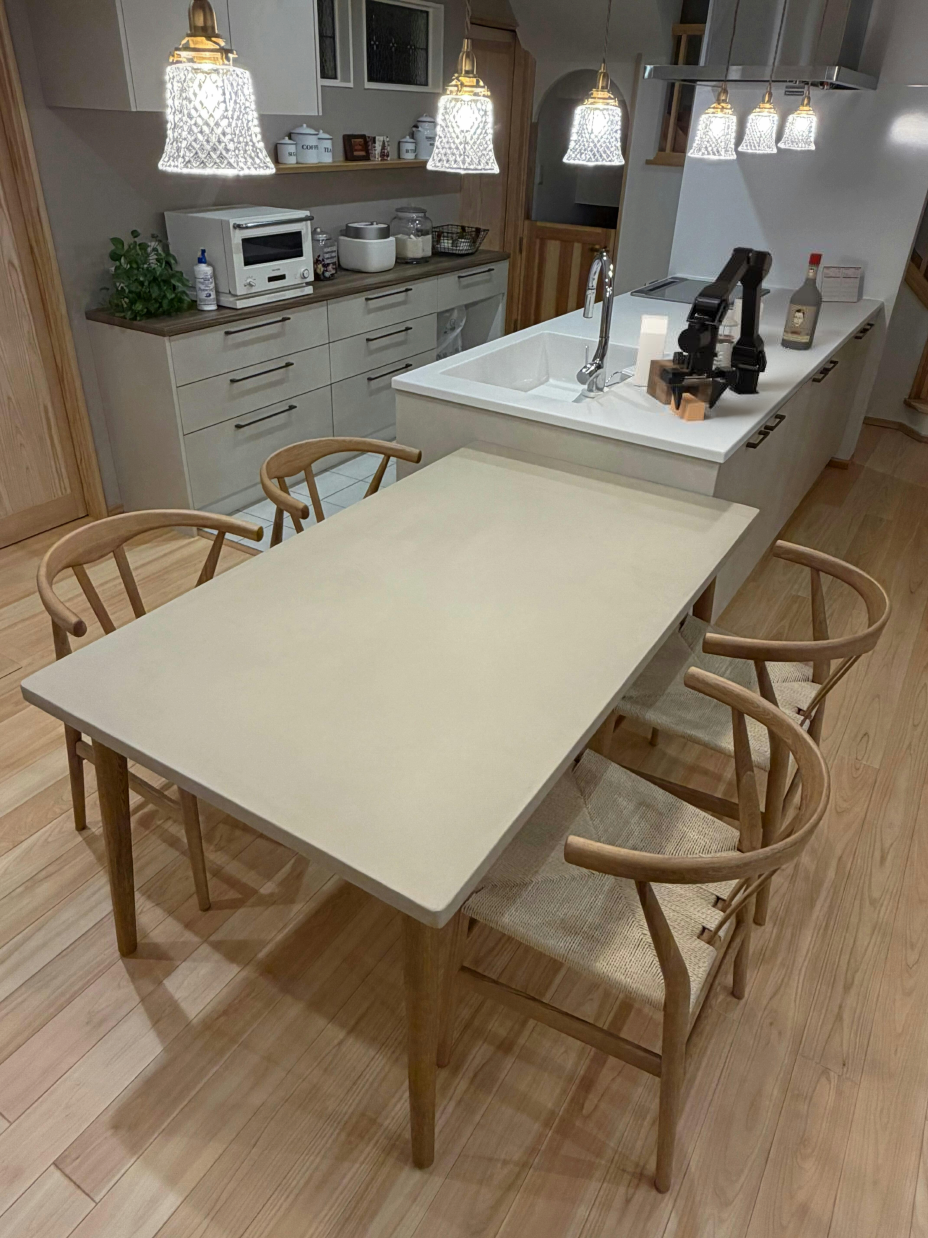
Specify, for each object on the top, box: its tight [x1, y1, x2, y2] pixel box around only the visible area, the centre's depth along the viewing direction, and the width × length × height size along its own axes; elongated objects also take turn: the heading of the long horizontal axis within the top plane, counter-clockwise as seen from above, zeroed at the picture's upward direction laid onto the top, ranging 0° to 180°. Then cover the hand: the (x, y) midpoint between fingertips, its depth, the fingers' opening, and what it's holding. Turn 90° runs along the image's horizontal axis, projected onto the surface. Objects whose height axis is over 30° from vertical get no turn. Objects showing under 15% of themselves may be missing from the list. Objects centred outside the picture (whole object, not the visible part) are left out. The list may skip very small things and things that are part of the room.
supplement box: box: [728, 298, 765, 345], centre depth 287 cm, size 9×9×15 cm
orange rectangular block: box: [669, 393, 707, 422], centre depth 218 cm, size 4×10×4 cm, turn 12°
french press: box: [713, 293, 739, 369], centre depth 258 cm, size 10×12×25 cm
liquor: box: [780, 252, 823, 351], centre depth 285 cm, size 9×9×30 cm
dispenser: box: [646, 358, 712, 406], centre depth 230 cm, size 15×13×9 cm
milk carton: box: [633, 314, 669, 387], centre depth 240 cm, size 7×7×19 cm
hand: (693, 409), depth 214 cm, fingers open, 9 cm apart
